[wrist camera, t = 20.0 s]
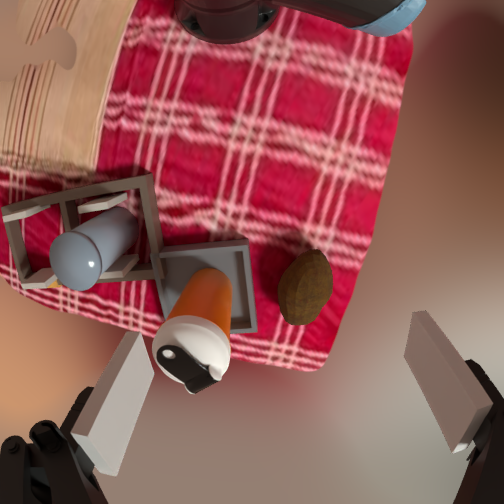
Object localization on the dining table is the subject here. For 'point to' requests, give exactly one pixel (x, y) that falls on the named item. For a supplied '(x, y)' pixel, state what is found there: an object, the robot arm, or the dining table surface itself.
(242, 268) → the tray
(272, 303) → the dining table surface
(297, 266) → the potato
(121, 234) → the canister
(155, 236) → the rack
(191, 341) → the shaker bottle
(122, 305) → the dining table surface
